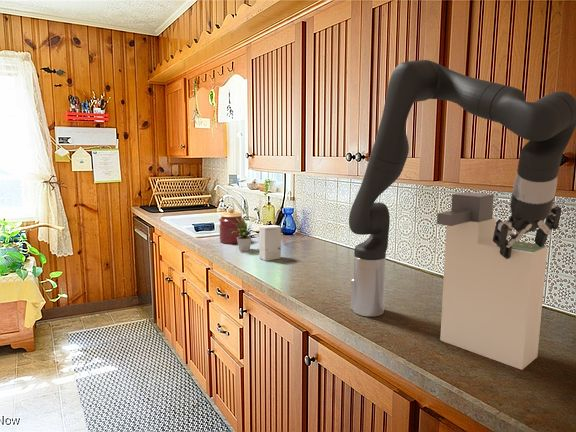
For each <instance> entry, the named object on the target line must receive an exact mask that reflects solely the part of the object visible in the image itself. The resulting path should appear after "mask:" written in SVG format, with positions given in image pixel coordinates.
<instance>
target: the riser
mask: <svg viewBox="0 0 576 432" xmlns="http://www.w3.org/2000/svg"><path fill="white" fill-rule="evenodd" d="M496 220H497V218H496V217H495V218H493V217H492V219H489V220H485V221H481V222H474V221H470V222H466V223H462V224H458V225H454V226H447V225H445V226H446V228H445V229H446V230H445V243H444V245H445V247H444V264H443V265H444V266H443V281H442V282H443V283H442V304H441V320H440V323H441V324H440V335H439V337H440V339H439V340H440V341H441V342H444V343H446V344H449V345H452V346H455V347H457V348H461V349H463V350H466V351H468V352H471V353H474V354H477V355H479V356H482V357H486V358H488V359H490V360H494V361H497V362H499V363H501V364H505V365H507V366H510V367H513V368H516V369H519V370H521V371H522V370H524V369H525V368H526V367H527V366H528V365H529V364H531V363H533V361H534V360H535V359H536V360H537V358H538V356H539V355H538V353H539V342H540V330H541V320H542V310H543V299H544V288H545V280H546V266H547V257H548V256H547V255H548V245H547V246H546V244H545V245H544V246H543V247H540V246H538V245H537V244H536V243H531V242H524V241H520V240H516V241H515V242H514V243H513V244H512V250H511V255H510V258H509V259H506V258H504V257H503V256H502V255H501V254H500V247H499V246H498V245H497V244H496V243H494V242H493V236H494V231H495V226H496V222H497V221H496ZM507 240H508V239H507ZM509 240H510V239H509ZM509 240H508V241H509Z"/></svg>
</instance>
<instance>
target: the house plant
mask: <svg viewBox="0 0 576 432" xmlns="http://www.w3.org/2000/svg"><path fill="white" fill-rule="evenodd" d="M236 219H237V218H236ZM243 219H244V218H243ZM243 219H241V224H240V221H239V220H238V219H237V220H238V222H239V225H238V224H236V223H235V222H234V223H235V224H236V225H237V226H238V227H239V229H237V230H239V232H240V233H239V235H241V236H240V237H237V241H238V243H237V246H238V250H239V252H249V251H250V250H251V242H252V236H251V235H250V234H253V233H254V229H252V226H253V224H254V223H255V222H254V223H253V221H254V220H252V222H251V223H250V224H249V226H248V223H247V222H246V219H247V217H245V219H244V220H243ZM232 222H233V221H232ZM234 223H233V224H234ZM241 225H242V226H241ZM238 227H237V228H238ZM233 232H238V231H234V230H233ZM233 232H232V233H233Z"/></svg>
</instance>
